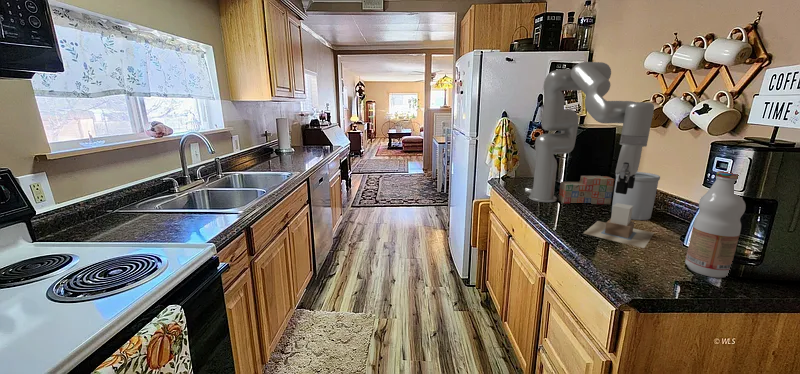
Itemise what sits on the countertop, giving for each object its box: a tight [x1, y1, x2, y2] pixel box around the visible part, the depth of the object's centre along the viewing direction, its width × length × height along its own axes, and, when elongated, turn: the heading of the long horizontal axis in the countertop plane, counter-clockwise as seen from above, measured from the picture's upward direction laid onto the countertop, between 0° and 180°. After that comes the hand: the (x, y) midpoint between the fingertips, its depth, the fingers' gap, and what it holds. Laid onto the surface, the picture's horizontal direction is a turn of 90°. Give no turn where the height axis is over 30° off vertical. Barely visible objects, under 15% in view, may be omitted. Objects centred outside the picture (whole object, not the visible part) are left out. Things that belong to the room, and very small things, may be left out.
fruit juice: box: [684, 170, 747, 279], centre depth 92 cm, size 9×9×28 cm
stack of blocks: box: [558, 175, 615, 205], centre depth 159 cm, size 21×6×12 cm, turn 87°
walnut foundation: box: [605, 218, 635, 238], centre depth 119 cm, size 7×7×4 cm
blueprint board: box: [583, 220, 655, 249], centre depth 120 cm, size 18×18×1 cm
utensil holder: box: [611, 171, 661, 221], centre depth 140 cm, size 15×15×18 cm
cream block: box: [610, 203, 633, 226], centre depth 118 cm, size 5×5×6 cm
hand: (624, 190), depth 116 cm, fingers open, 9 cm apart
